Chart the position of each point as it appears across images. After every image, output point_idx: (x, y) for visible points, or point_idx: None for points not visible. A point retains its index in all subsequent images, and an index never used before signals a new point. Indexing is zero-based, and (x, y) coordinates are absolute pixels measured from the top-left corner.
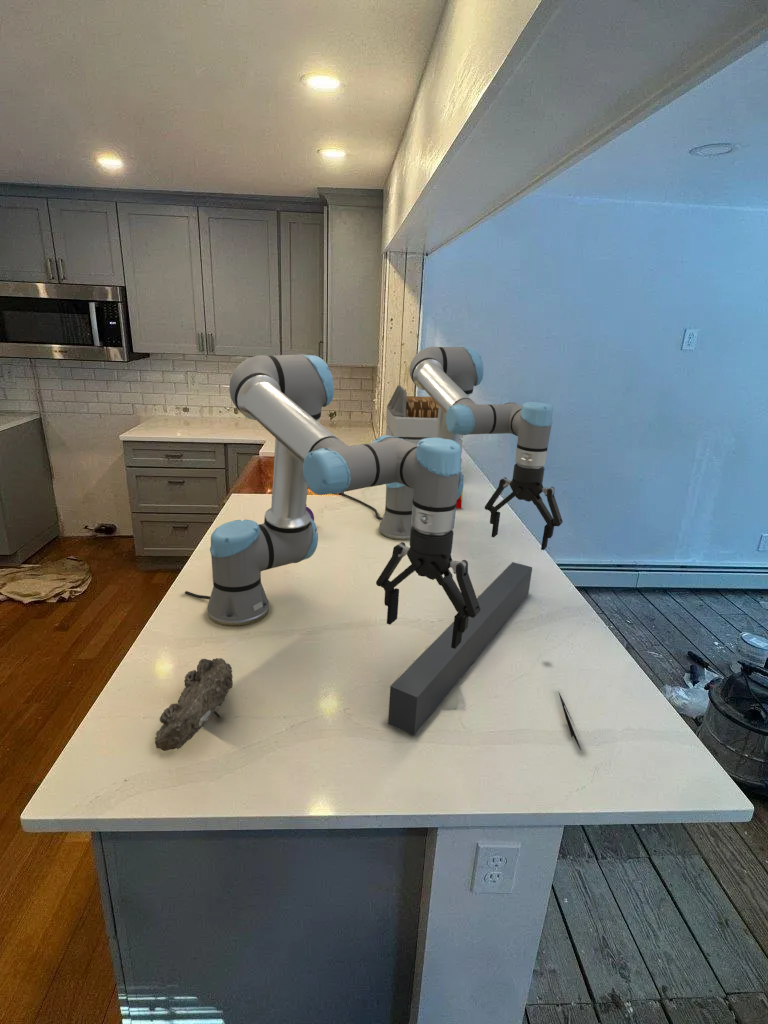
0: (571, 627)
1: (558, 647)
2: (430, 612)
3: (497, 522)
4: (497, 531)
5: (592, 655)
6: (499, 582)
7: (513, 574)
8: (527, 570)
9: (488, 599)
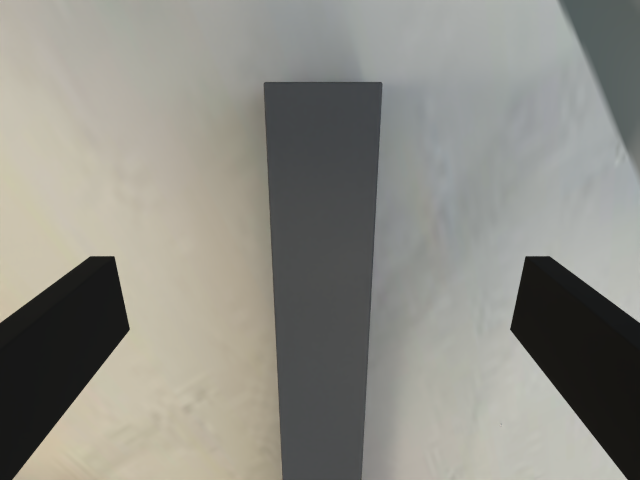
0: (547, 229)
1: (517, 349)
2: (155, 375)
3: (41, 377)
4: (99, 281)
5: None
6: (300, 337)
7: (324, 232)
8: (370, 145)
9: (318, 461)
